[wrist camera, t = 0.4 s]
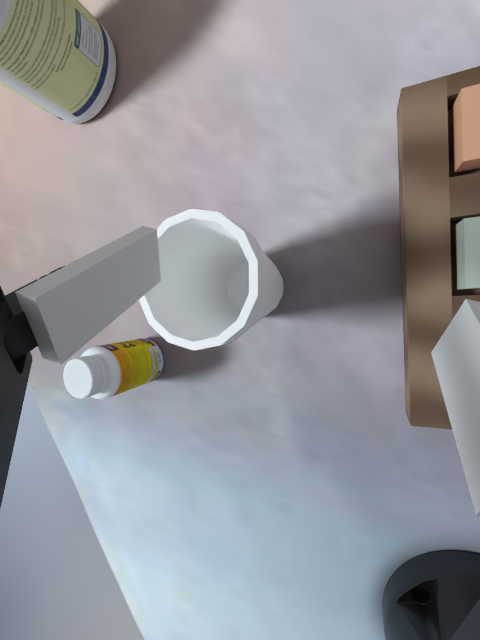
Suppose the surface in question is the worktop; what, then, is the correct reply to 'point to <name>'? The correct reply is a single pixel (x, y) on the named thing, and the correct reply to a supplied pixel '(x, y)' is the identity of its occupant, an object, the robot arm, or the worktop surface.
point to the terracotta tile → (467, 129)
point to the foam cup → (209, 281)
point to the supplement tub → (56, 57)
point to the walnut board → (431, 233)
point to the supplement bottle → (113, 369)
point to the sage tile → (468, 253)
